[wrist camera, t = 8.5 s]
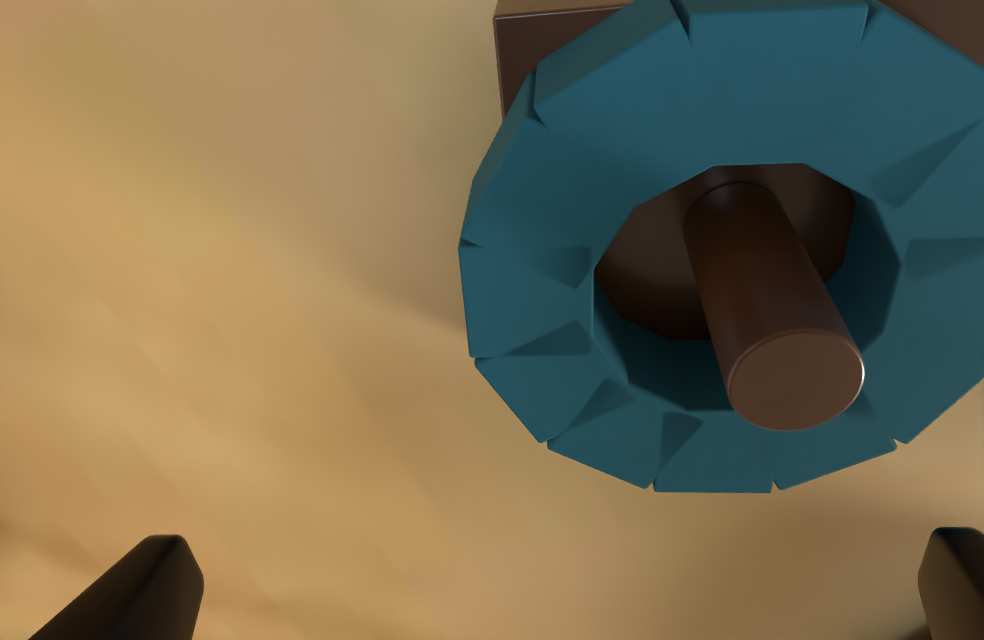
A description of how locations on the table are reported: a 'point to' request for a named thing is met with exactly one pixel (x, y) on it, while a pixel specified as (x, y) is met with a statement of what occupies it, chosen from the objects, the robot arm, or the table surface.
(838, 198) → the peg stand
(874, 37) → the loop
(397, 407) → the table surface
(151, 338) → the table surface
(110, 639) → the robot arm
